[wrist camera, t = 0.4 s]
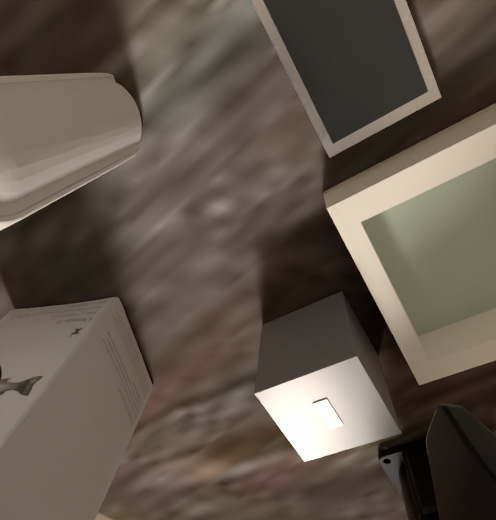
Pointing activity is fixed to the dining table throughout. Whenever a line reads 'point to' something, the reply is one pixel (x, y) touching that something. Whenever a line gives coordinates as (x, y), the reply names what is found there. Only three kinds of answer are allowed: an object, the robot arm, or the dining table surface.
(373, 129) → the phone slab
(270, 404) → the block
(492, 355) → the white grey flat device
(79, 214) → the dining table surface
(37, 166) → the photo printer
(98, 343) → the supplement box
